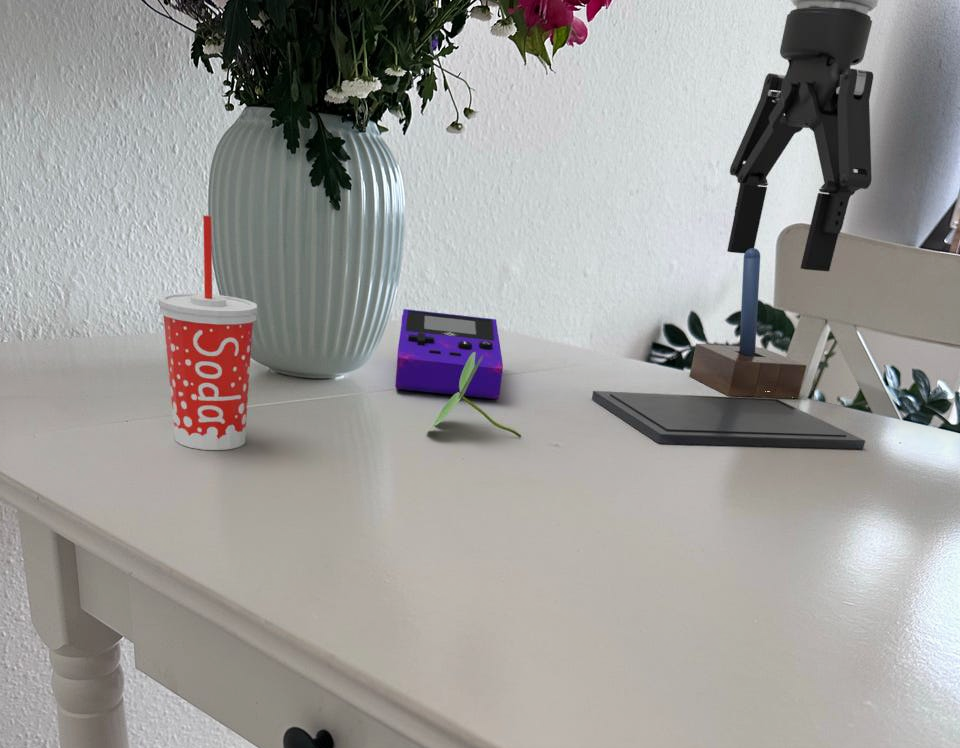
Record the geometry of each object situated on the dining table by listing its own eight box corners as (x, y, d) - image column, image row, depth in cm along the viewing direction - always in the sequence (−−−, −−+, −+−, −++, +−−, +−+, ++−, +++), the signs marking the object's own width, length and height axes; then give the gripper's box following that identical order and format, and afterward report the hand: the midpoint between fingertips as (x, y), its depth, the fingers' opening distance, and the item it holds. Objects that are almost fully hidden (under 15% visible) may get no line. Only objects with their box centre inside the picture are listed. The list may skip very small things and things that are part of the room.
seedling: (474, 495, 76) (407, 446, 74) (516, 421, 79) (453, 372, 77) (518, 465, 70) (446, 410, 68) (561, 386, 73) (493, 331, 71)
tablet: (775, 407, 96) (777, 398, 95) (863, 449, 84) (866, 439, 83) (591, 399, 89) (592, 389, 89) (658, 443, 78) (660, 433, 77)
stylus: (748, 384, 103) (755, 246, 96) (756, 388, 102) (763, 248, 95) (734, 387, 103) (741, 248, 96) (742, 390, 102) (749, 250, 95)
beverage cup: (152, 448, 62) (141, 213, 56) (175, 423, 68) (169, 206, 61) (247, 457, 63) (248, 226, 56) (263, 432, 68) (266, 218, 62)
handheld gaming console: (396, 351, 81) (403, 303, 93) (392, 411, 84) (399, 357, 96) (505, 363, 81) (498, 314, 94) (498, 422, 84) (491, 367, 97)
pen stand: (755, 379, 107) (763, 347, 106) (798, 399, 100) (807, 365, 99) (689, 376, 105) (695, 343, 103) (728, 395, 98) (736, 361, 96)
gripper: (725, 17, 96) (683, 244, 106) (886, -11, 75) (816, 275, 85) (788, 28, 99) (742, 249, 108) (962, 4, 78) (886, 281, 87)
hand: (775, 261), depth 97 cm, fingers open, 13 cm apart
